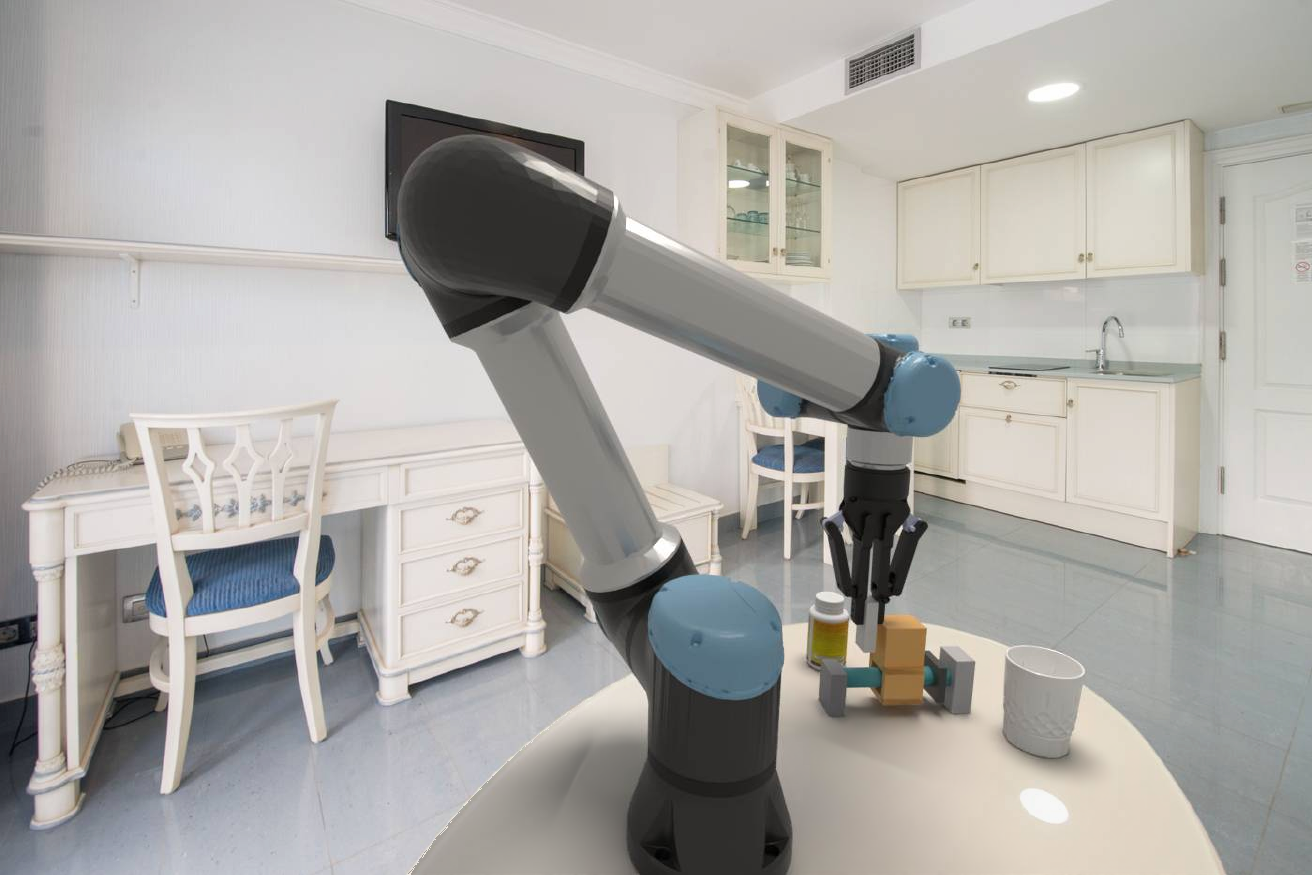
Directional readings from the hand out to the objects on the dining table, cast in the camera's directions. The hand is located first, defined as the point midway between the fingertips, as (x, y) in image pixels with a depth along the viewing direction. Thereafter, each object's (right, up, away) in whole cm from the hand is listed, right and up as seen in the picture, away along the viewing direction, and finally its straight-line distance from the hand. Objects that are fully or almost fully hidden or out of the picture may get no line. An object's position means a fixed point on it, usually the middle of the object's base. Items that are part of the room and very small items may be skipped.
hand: (865, 647), depth 81 cm
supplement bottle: (-2, -6, +12) cm, 14 cm away
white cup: (+18, -9, -5) cm, 21 cm away
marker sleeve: (+4, -6, +1) cm, 8 cm away
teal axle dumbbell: (+4, -8, +1) cm, 9 cm away
